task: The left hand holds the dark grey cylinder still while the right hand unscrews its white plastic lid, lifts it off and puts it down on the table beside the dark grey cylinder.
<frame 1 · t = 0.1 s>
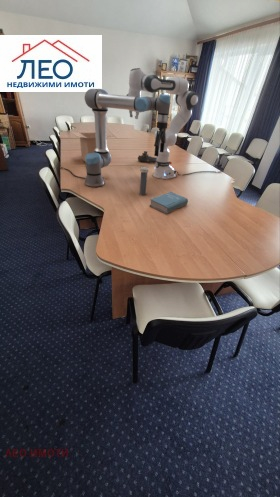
left hand: (158, 154, 165), 28 cm above the table, tool pointing down, fingers open, 13 cm apart
right hand: (133, 118, 170), 48 cm above the table, tool pointing down, fingers open, 8 cm apart
laser sight: (147, 162, 246), on the table
dark grey cylinder: (142, 194, 174), on the table
book: (168, 205, 159), on the table
lid: (144, 168, 162), point 20 cm above the table, screwed on, not yet turned
box: (93, 161, 237), on the table
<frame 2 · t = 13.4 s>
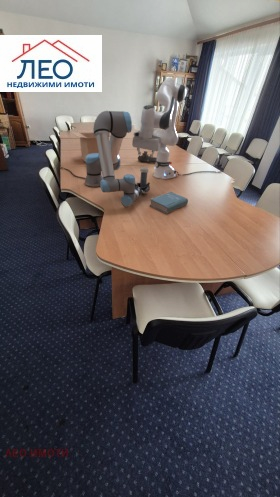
left hand: (145, 183, 174), 7 cm above the table, tool horizontal, fingers closed on dark grey cylinder, 5 cm apart
right hand: (145, 155, 157), 29 cm above the table, tool pointing down, fingers open, 8 cm apart
dark grey cylinder: (142, 194, 174), on the table, touching left hand
everything else where it was.
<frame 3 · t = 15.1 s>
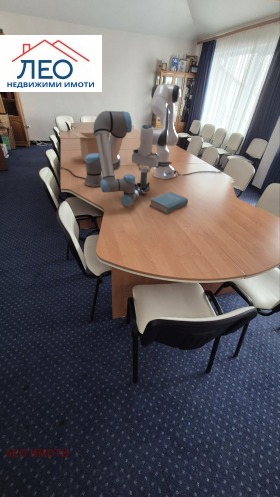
left hand: (145, 183, 174), 7 cm above the table, tool horizontal, fingers closed on dark grey cylinder, 5 cm apart
right hand: (144, 171, 163), 18 cm above the table, tool pointing down, fingers closed on lid, 6 cm apart
dark grey cylinder: (142, 194, 174), on the table, touching left hand
lid: (144, 168, 162), point 20 cm above the table, screwed on, not yet turned, touching right hand
everything else where it was.
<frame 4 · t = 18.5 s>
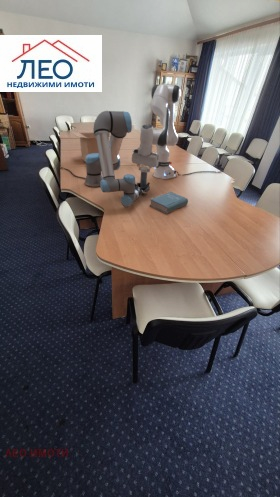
left hand: (145, 183, 174), 7 cm above the table, tool horizontal, fingers closed on dark grey cylinder, 5 cm apart
right hand: (144, 171, 163), 18 cm above the table, tool pointing down, fingers closed on lid, 6 cm apart
dark grey cylinder: (142, 194, 174), on the table, touching left hand
lid: (144, 168, 162), point 20 cm above the table, turned 93° so far, risen 0.1 cm, still on its thread, touching right hand
everything else where it was.
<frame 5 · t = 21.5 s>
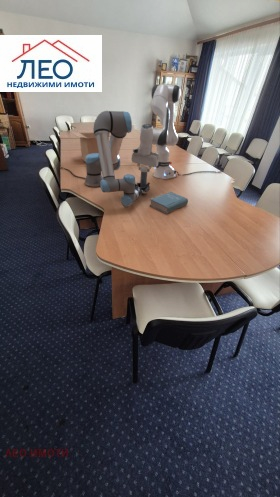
left hand: (145, 183, 174), 7 cm above the table, tool horizontal, fingers closed on dark grey cylinder, 5 cm apart
right hand: (144, 170, 163), 18 cm above the table, tool pointing down, fingers closed on lid, 5 cm apart
dark grey cylinder: (142, 193, 174), on the table, touching left hand
lid: (144, 168, 162), point 20 cm above the table, turned 185° so far, risen 0.3 cm, still on its thread, touching right hand
everything else where it was.
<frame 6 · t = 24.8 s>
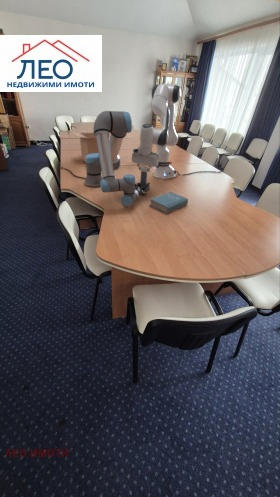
left hand: (145, 183, 174), 7 cm above the table, tool horizontal, fingers closed on dark grey cylinder, 5 cm apart
right hand: (144, 170, 163), 18 cm above the table, tool pointing down, fingers closed on lid, 6 cm apart
dark grey cylinder: (142, 194, 174), on the table, touching left hand
lid: (144, 168, 162), point 20 cm above the table, turned 278° so far, risen 0.4 cm, still on its thread, touching right hand
everything else where it was.
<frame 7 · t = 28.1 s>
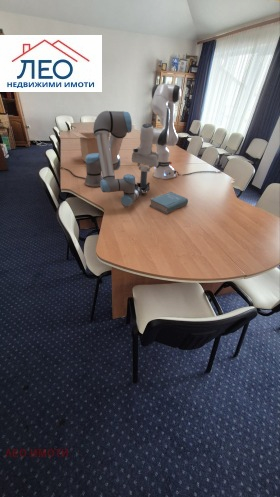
left hand: (145, 183, 174), 7 cm above the table, tool horizontal, fingers closed on dark grey cylinder, 5 cm apart
right hand: (144, 170, 163), 18 cm above the table, tool pointing down, fingers closed on lid, 5 cm apart
dark grey cylinder: (142, 194, 174), on the table, touching left hand
lid: (144, 167, 162), point 20 cm above the table, turned 371° so far, risen 0.6 cm, still on its thread, touching right hand
everything else where it was.
when the right hand's fingers open (2 cm above the table, at t = 35.2 s): lid drops 2 cm, point 2 cm above the table.
when the left hand's fingers open (7 cm above the table, at t = 36.1 s): dark grey cylinder stays where it is, on the table.
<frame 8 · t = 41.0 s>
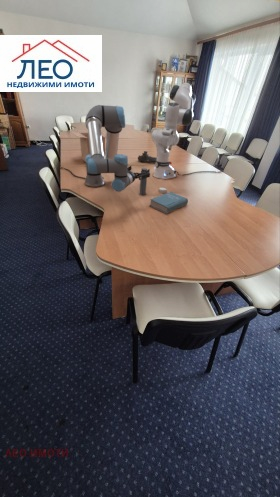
left hand: (139, 169, 154), 21 cm above the table, tool horizontal, fingers open, 13 cm apart
right hand: (167, 151, 163), 31 cm above the table, tool pointing down, fingers open, 8 cm apart
dark grey cylinder: (142, 194, 174), on the table
lid: (162, 189, 179), point 2 cm above the table, off its thread
everything else where it was.
at the end: lid came off its thread; lid point 1.9 cm above the table; the left hand is holding nothing; the right hand is holding nothing; dark grey cylinder tilted 0°; dark grey cylinder moved 0.0 cm from its start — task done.
